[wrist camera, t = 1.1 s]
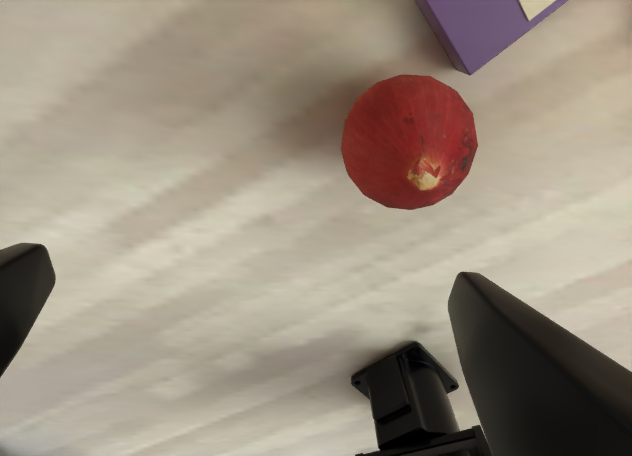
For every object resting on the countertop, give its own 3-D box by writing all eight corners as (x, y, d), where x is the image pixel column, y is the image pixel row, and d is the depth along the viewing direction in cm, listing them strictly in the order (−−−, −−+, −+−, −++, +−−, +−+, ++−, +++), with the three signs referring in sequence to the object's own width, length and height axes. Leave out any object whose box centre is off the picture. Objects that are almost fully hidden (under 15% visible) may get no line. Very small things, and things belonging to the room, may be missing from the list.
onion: (459, 70, 19) (546, 106, 12) (430, 176, 22) (487, 255, 15) (344, 58, 18) (365, 88, 12) (331, 168, 21) (341, 244, 14)
